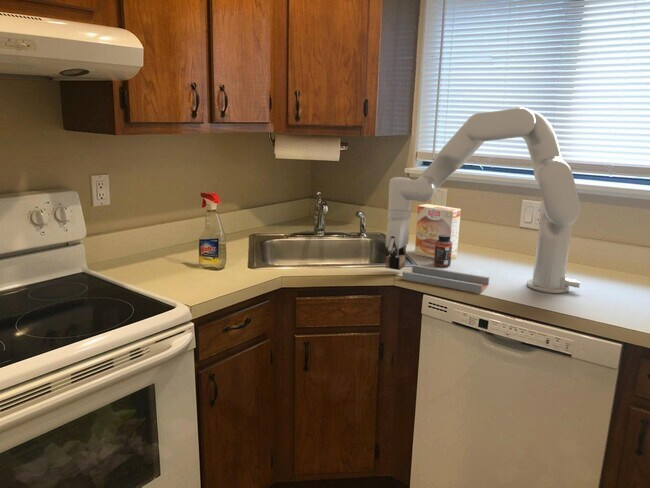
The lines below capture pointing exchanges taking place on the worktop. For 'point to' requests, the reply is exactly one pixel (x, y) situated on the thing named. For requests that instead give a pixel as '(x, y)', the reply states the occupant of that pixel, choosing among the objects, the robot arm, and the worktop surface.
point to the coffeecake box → (436, 228)
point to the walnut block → (401, 261)
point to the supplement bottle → (443, 251)
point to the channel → (447, 278)
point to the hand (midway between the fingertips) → (397, 265)
